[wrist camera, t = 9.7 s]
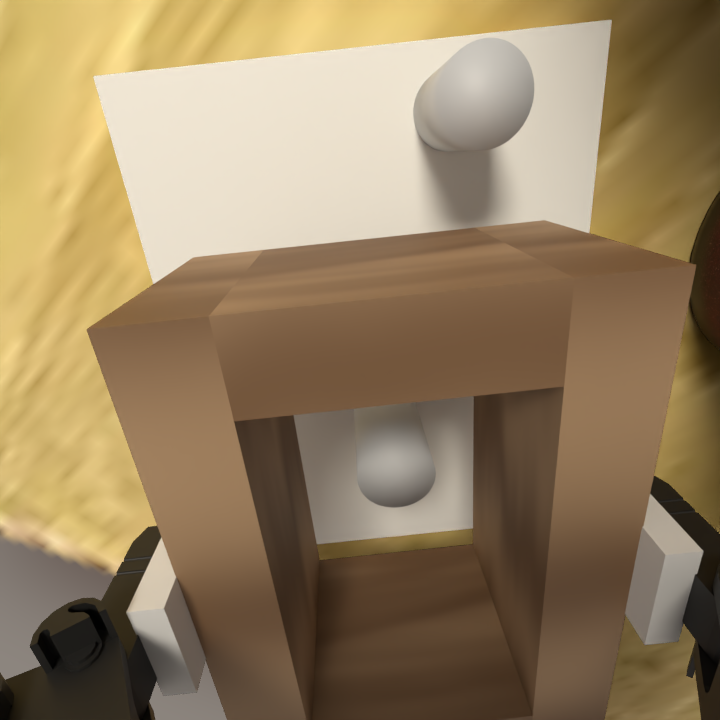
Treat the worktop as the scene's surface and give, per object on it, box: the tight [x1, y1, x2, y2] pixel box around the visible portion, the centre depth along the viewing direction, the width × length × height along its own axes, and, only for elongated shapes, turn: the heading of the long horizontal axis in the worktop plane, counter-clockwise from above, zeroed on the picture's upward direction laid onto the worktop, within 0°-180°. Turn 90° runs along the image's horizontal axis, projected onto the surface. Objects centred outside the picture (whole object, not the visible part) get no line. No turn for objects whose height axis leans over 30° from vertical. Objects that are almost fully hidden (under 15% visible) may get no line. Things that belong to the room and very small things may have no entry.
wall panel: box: [93, 20, 612, 544], centre depth 16 cm, size 20×16×6 cm
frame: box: [87, 220, 696, 720], centre depth 13 cm, size 14×10×6 cm
